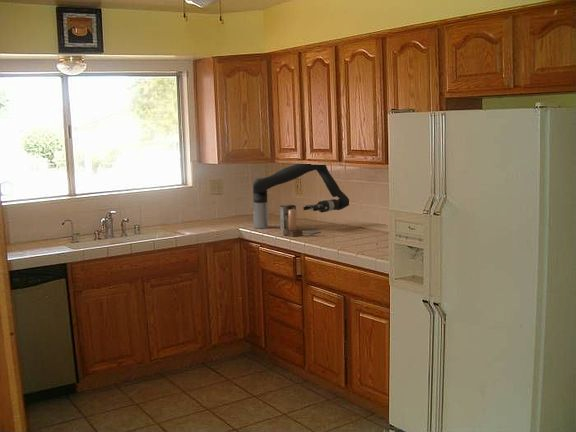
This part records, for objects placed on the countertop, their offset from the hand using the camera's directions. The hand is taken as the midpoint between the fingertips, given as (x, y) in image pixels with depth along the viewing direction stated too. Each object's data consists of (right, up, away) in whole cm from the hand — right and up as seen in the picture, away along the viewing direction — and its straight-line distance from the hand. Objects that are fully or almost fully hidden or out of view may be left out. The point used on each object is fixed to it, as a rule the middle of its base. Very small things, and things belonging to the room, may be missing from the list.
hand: (308, 209), depth 431 cm
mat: (+1, -15, -1) cm, 15 cm away
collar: (-10, -16, -8) cm, 21 cm away
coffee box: (-13, -14, +14) cm, 24 cm away
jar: (-10, -16, -8) cm, 21 cm away
